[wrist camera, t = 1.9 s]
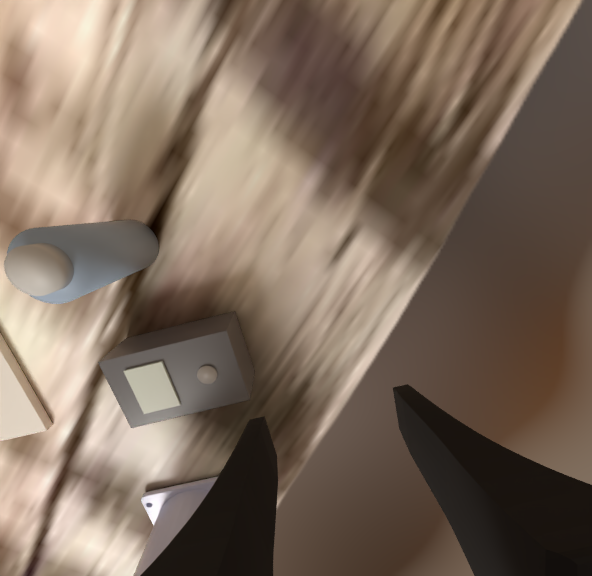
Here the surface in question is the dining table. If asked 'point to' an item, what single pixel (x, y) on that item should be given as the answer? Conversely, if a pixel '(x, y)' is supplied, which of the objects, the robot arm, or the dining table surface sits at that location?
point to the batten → (18, 400)
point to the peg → (78, 258)
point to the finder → (180, 370)
